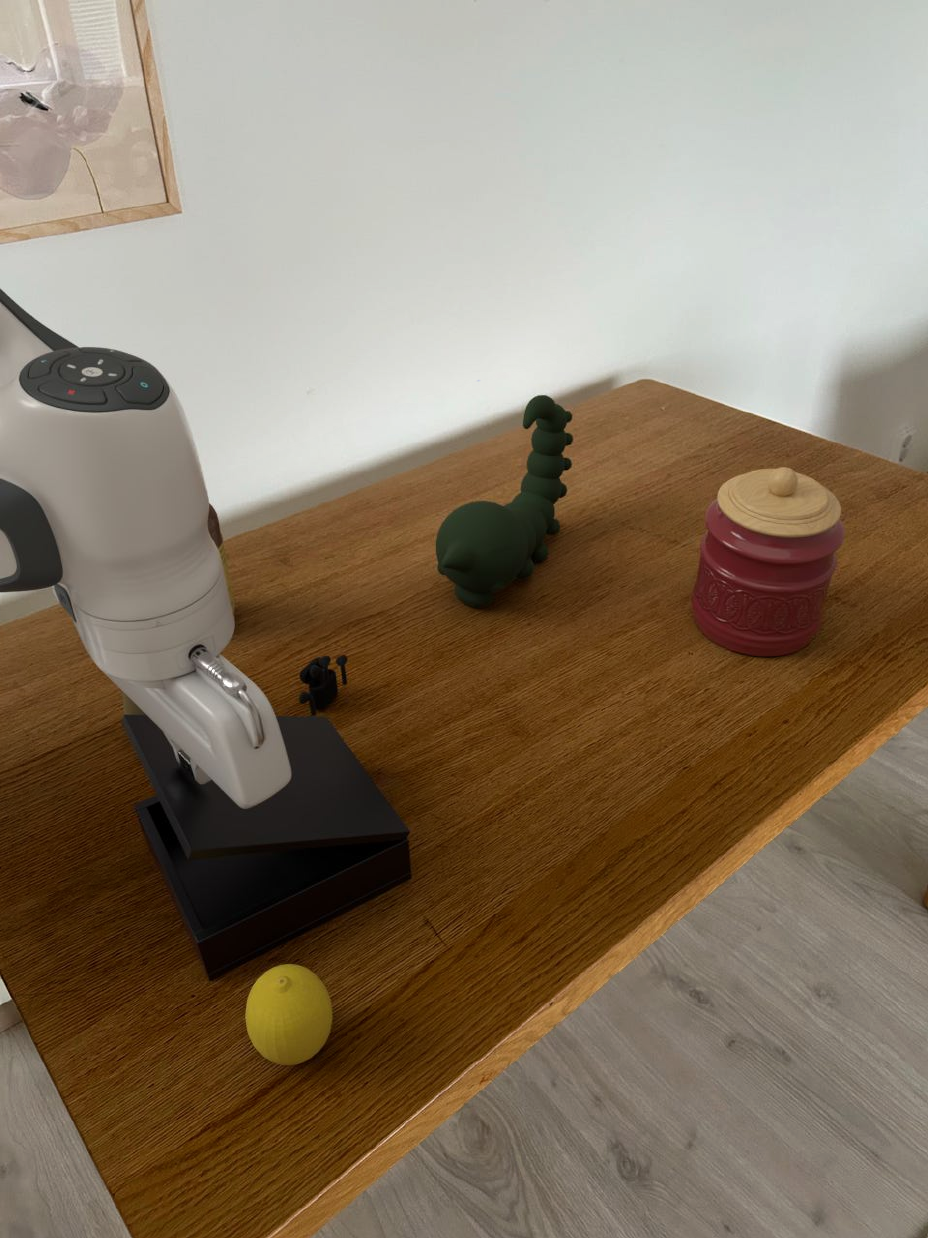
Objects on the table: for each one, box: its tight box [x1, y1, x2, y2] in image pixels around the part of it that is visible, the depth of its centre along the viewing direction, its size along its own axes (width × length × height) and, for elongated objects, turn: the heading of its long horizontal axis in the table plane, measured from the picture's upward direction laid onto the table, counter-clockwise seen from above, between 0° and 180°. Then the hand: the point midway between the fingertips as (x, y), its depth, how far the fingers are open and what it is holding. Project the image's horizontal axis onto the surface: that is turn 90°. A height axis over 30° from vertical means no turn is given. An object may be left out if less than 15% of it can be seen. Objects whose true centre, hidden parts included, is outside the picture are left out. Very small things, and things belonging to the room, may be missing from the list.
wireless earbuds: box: [298, 654, 348, 716], centre depth 91 cm, size 7×2×5 cm, turn 149°
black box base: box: [133, 795, 412, 982], centre depth 77 cm, size 17×15×5 cm
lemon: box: [244, 963, 334, 1066], centre depth 64 cm, size 6×6×8 cm
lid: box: [121, 714, 411, 859], centre depth 73 cm, size 18×15×1 cm
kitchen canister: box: [691, 466, 846, 657], centre depth 96 cm, size 13×13×18 cm
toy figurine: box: [435, 394, 574, 609], centre depth 103 cm, size 9×19×25 cm
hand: (199, 769), depth 69 cm, fingers closed
